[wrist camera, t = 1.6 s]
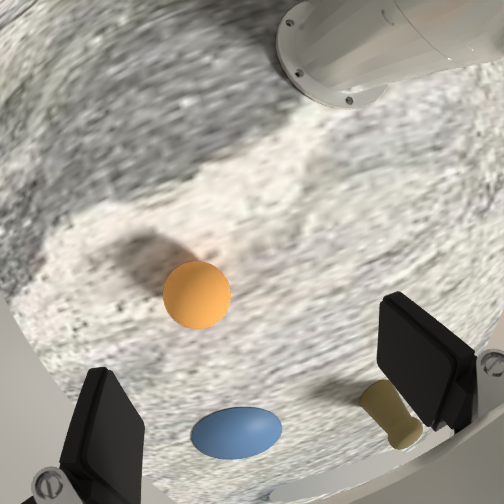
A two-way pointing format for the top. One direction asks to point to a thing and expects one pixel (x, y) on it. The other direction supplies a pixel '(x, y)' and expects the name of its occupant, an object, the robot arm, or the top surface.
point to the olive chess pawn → (391, 414)
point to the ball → (196, 295)
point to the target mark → (237, 433)
